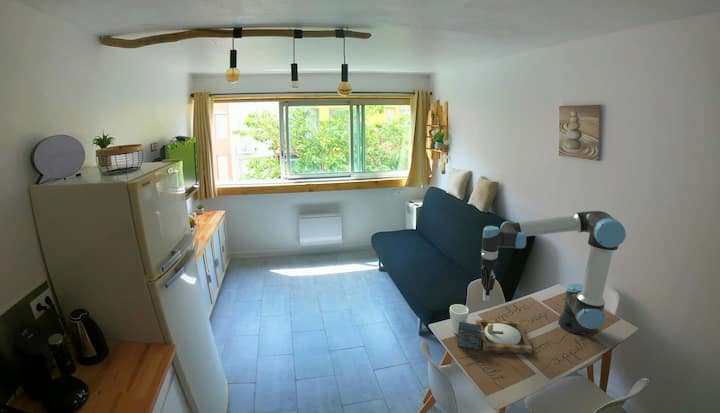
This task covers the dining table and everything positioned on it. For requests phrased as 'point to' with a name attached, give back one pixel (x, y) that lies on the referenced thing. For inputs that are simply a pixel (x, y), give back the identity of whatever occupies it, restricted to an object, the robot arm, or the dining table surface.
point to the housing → (521, 348)
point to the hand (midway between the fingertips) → (485, 299)
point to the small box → (469, 335)
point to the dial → (502, 334)
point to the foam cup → (458, 316)
